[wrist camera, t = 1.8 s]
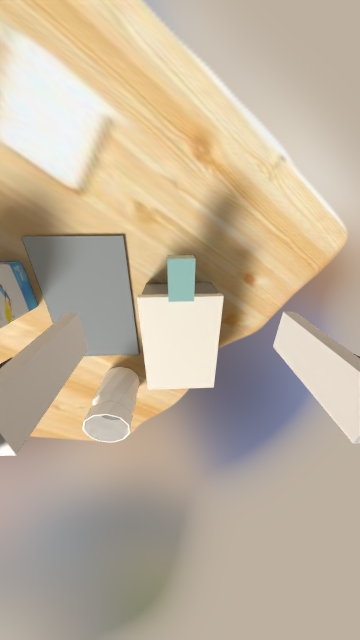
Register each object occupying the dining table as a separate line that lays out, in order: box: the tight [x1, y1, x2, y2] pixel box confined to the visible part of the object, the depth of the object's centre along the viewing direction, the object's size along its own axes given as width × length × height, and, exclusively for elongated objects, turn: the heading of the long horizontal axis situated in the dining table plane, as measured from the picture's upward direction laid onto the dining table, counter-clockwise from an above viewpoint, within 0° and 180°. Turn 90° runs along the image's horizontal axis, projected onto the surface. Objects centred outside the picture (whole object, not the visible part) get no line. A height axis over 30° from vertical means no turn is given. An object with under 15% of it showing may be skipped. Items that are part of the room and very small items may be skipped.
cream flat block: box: [137, 255, 224, 390], centre depth 30 cm, size 24×13×4 cm, turn 0°
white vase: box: [83, 367, 140, 442], centre depth 39 cm, size 9×9×12 cm
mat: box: [22, 236, 139, 356], centre depth 35 cm, size 24×16×1 cm, turn 0°
